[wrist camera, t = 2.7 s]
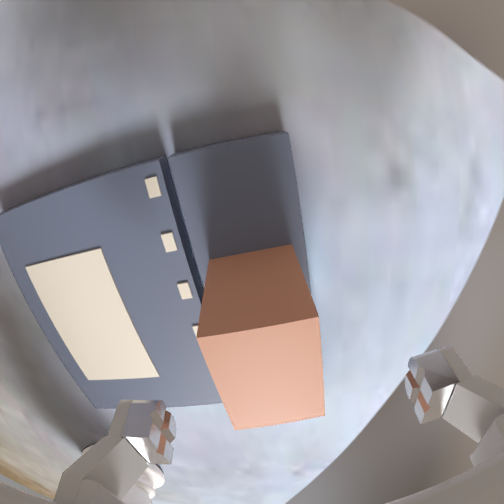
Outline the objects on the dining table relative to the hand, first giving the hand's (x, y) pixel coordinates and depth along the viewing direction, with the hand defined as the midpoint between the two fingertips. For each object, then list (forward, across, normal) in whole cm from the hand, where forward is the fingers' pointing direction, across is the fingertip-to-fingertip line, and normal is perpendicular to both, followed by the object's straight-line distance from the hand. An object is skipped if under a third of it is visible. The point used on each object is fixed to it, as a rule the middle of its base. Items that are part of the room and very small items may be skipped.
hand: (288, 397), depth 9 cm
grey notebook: (+7, +8, 0) cm, 11 cm away
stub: (+7, +1, 0) cm, 7 cm away
